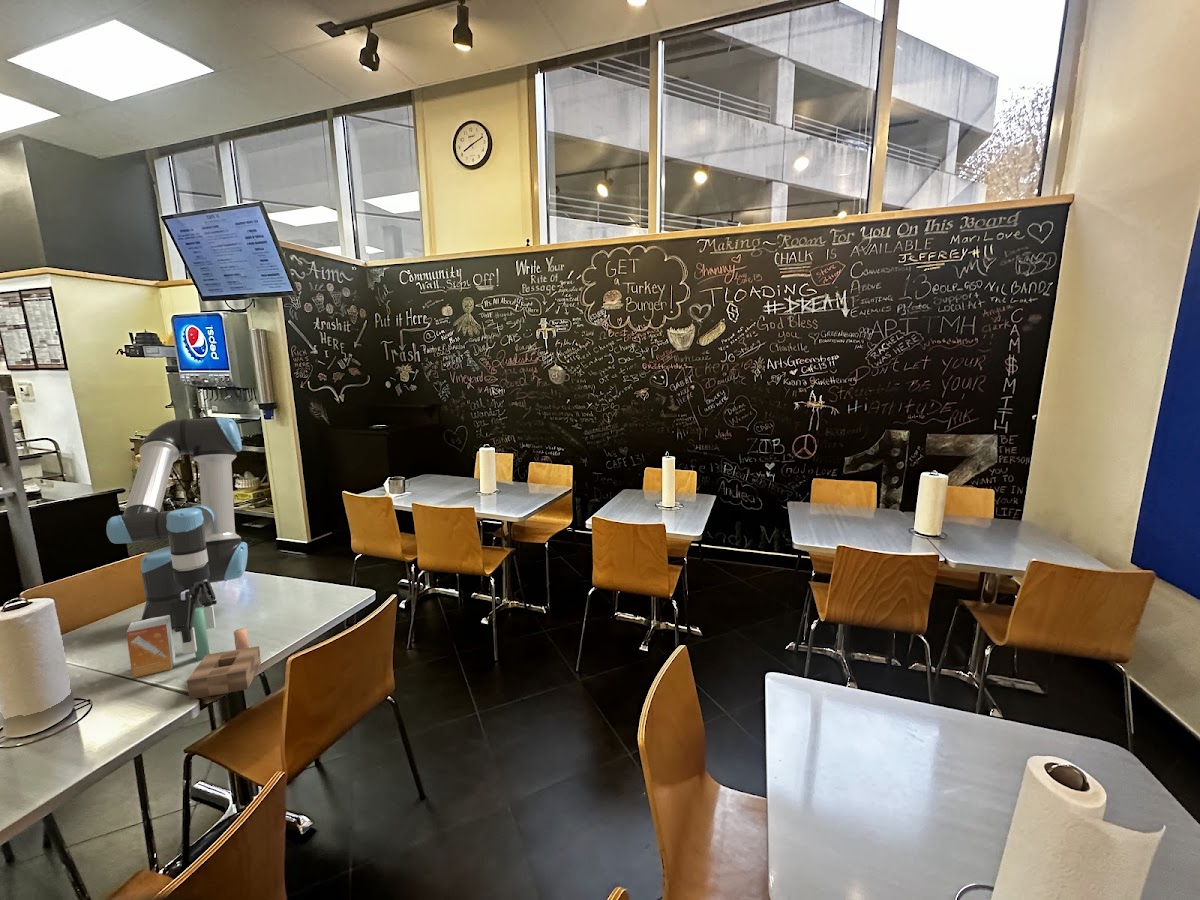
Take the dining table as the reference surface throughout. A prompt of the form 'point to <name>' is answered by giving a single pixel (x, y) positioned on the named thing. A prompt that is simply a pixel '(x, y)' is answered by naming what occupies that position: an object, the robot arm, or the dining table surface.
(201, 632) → the long dowel
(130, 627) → the small box
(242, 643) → the short dowel
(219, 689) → the collar block
